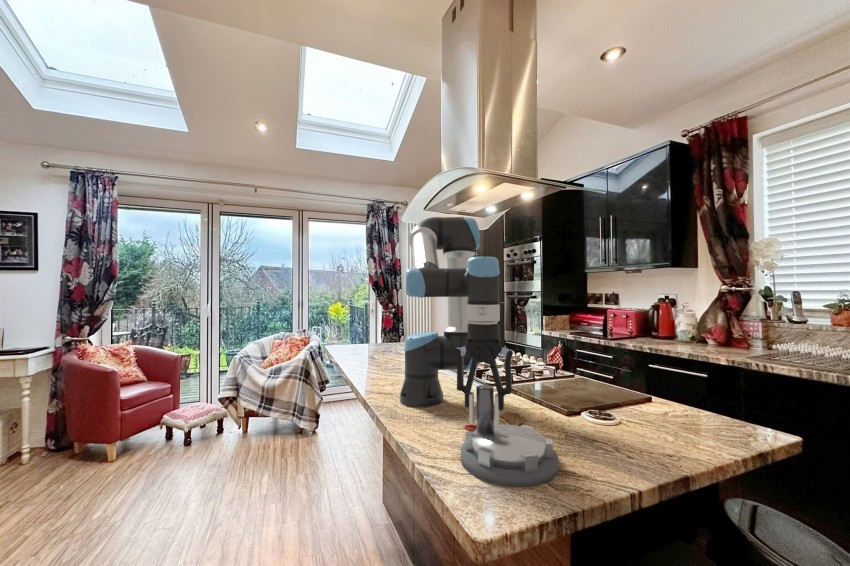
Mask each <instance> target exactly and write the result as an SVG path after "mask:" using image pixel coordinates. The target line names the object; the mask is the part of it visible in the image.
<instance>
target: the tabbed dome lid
mask: <svg viewBox="0 0 850 566" xmlns="http://www.w3.org/2000/svg"><path fill="white" fill-rule="evenodd" d="M475 389H476V392H475V393H476V395H475V396H476V425H477V429H476V430H475V431H474V432H472V431H468V430H466V432H465V436H464V439H465V441H464V443H465V450H472V452H473V454H474V455H475V457H477V458H478V464H480V465H482V466H485V467H487V468H491V467H493V466H496V467H501V468H508V469H522V470H523V471H524V472H531V471H537V470H538V465H540V464H541V463H543V462H544V461H545V459H546V458H552V459H553V450H554V444H553V440H552V438H545V436H543V435H542V434H541V433H539V432H537V431H536V430H534V429H535V428H534V427H532V426H529V425H526V424H521V425H519V426H515V425H506V424H505V423H501V424H500V423H499V425H498V426H495V393H494V389H495V388H494V386H492V385H486V384H482V385H477V386H476V388H475Z"/></svg>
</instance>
